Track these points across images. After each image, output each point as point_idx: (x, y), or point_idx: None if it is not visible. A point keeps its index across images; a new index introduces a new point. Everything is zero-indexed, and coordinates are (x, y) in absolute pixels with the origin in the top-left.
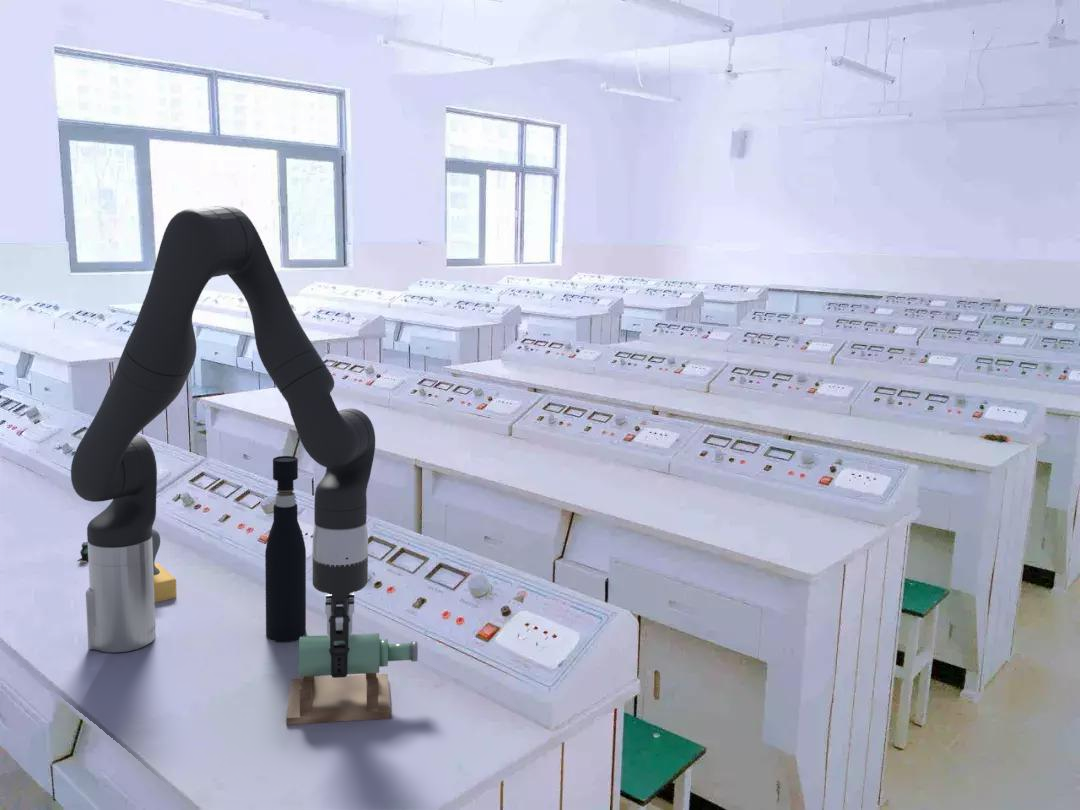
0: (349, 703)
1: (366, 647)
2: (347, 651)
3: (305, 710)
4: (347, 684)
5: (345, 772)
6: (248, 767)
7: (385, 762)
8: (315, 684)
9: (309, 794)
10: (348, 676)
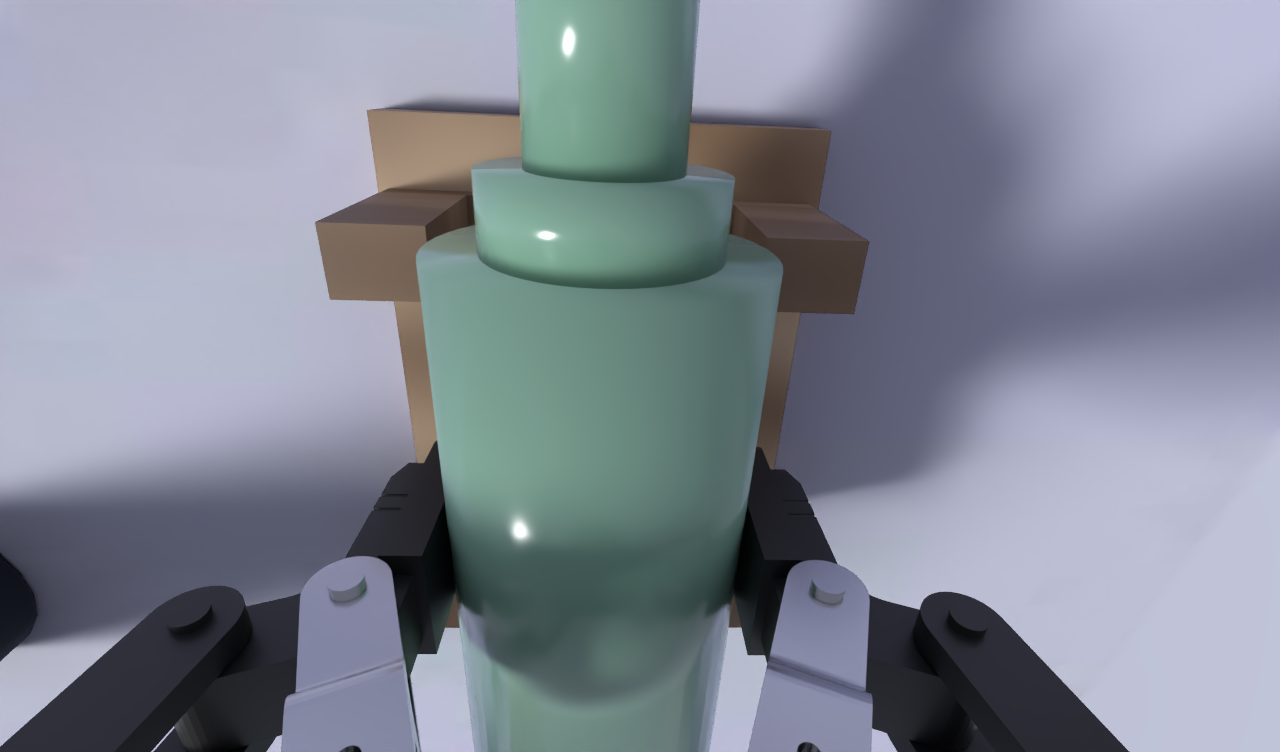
0: None
1: (741, 416)
2: (1005, 629)
3: None
4: None
5: (1161, 354)
6: None
7: (1185, 187)
8: None
9: (1219, 467)
10: (408, 340)
